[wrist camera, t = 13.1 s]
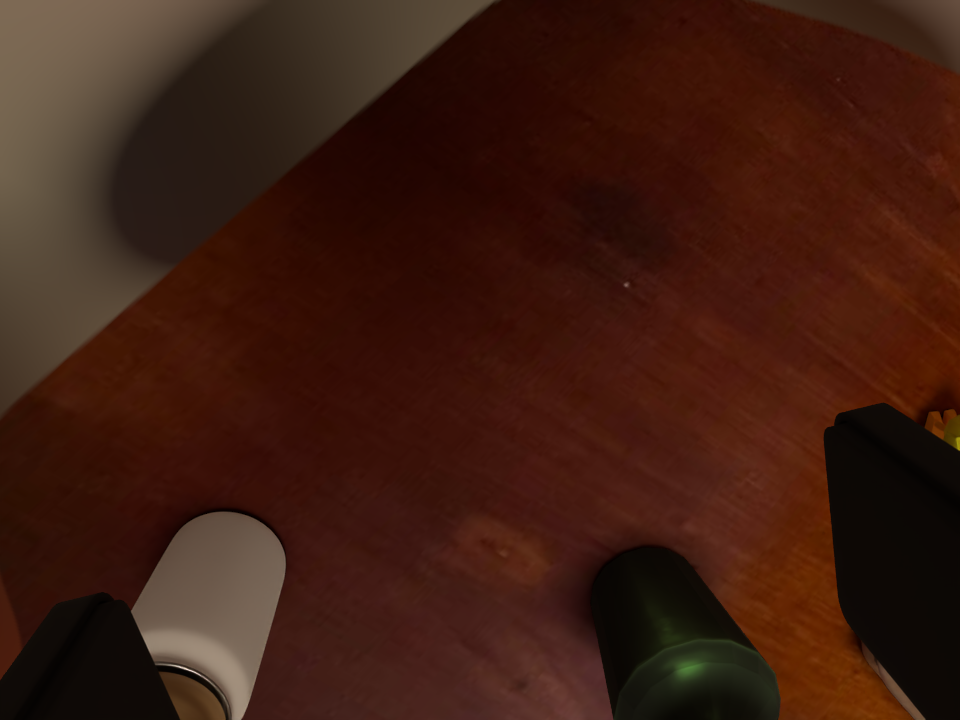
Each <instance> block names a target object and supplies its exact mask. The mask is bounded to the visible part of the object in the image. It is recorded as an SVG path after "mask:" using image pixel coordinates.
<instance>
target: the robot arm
mask: <svg viewBox="0 0 960 720" xmlns="http://www.w3.org/2000/svg"><path fill="white" fill-rule="evenodd" d="M824 448H825V459H826V470H827V481H828V492H829V503H830V513H831V524H832V535H833V546H834V557H835V568H836V579H837V590H838V598H839V603H840V607H841V610H842V612H843V615H844V617H845V619H846V621H847V623H848V624H849V626H850V627H851V628H852V630H853V631H854V632H855V633H856V635H857V636H858V637H859V638H860V640H861V641H862V642H863V643H864V644H865V646H866V647H867V648H868V649H869V651H870V652H871V653H872V654H873V655H874V657H875V658H876V659H877V660H878V662H879V663H880V664H881V665H882V667H883V668H884V669H885V670H886V671H887V673H888V674H889V675H890V676H891V678H892V679H893V680H894V681H895V683H896V684H897V685H898V686H899V687H900V689H901V690H902V691H903V692H904V694H905V695H906V696H907V697H908V698H909V700H910V701H911V702H912V703H913V705H914V706H915V707H916V708H917V710H918V711H919V712H920V713H921V714H922V716H923V717H924V718H925V719H926V720H960V451H959V450H958V449H956V448H954V447H953V446H951V445H950V444H948V443H947V442H945V441H944V440H942V439H941V438H939V437H938V436H936V435H935V434H933V433H931V432H930V431H928V430H927V429H925V428H924V427H922V426H921V425H919V424H918V423H916V422H915V421H913V420H912V419H910V418H908V417H907V416H905V415H904V414H902V413H901V412H899V411H898V410H896V409H895V408H893V407H892V406H890V405H888V404H886V403H879V404H875V405H871V406H867V407H863V408H859V409H854V410H850V411H846V412H842V413H839V414H838V415H837V416H836V419H835V422H834V426H832V427H827V428H826V430H825V432H824ZM0 720H180V718H179V715H178V713H177V711H176V709H175V707H174V705H173V702H172V700H171V698H170V696H169V694H168V691H167V689H166V687H165V685H164V683H163V680H162V678H161V676H160V674H159V672H158V670H157V667H156V665H155V663H154V661H153V659H152V656H151V654H150V652H149V650H148V648H147V646H146V643H145V641H144V639H143V637H142V635H141V632H140V630H139V628H138V626H137V624H136V621H135V619H134V617H133V615H132V613H131V611H130V609H129V607H128V605H127V604H126V603H125V602H124V601H122V600H115V601H114V599H113V598H112V597H111V596H110V595H109V594H107V593H103V592H101V593H97V594H93V595H89V596H85V597H81V598H77V599H73V600H69V601H64V602H61V603H58V604H56V605H55V606H54V607H53V608H52V609H51V611H50V612H49V613H48V615H47V616H46V618H45V619H44V620H43V622H42V623H41V625H40V626H39V627H38V629H37V630H36V631H35V633H34V634H33V636H32V637H31V638H30V640H29V641H28V643H27V644H26V645H25V647H24V648H23V650H22V651H21V652H20V654H19V655H18V656H17V658H16V659H15V661H14V662H13V663H12V665H11V666H10V668H9V669H8V670H7V672H6V673H5V674H4V676H3V677H2V679H1V680H0Z"/></svg>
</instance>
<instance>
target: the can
mask: <svg viewBox="0 0 960 720" xmlns="http://www.w3.org/2000/svg"><path fill="white" fill-rule="evenodd" d="M285 568H286V560H285V553H284V550H283V547H282V545H281V543H280V541H279V540H278V538H277V537H276V535H275V534H274V533H273V532H272V531H271V530H270V529H269V528H268V527H267V526H265V525H264V524H263V523H261V522H260V521H258V520H256V519H254V518H252V517H249V516H247V515H243V514H240V513H234V512H214V513H208V514H205V515H202V516H199V517H197V518H195V519H193V520H191V521H189V522H188V523H187V524H185V525H184V526H183V527H182V528H181V529H180V530H179V531H178V532H177V534H176V535H175V536H174V538H173V539H172V541H171V543H170V544H169V546H168V548H167V549H166V551H165V553H164V554H163V556H162V558H161V560H160V561H159V563H158V565H157V567H156V568H155V570H154V572H153V574H152V575H151V577H150V579H149V581H148V582H147V584H146V586H145V588H144V589H143V591H142V593H141V595H140V596H139V598H138V600H137V602H136V603H135V605H134V607H133V609H132V611H131V613H132V615H133V617H134V619H135V621H136V624H137V626H138V628H139V630H140V632H141V635H142V637H143V639H144V641H145V643H146V646H147V648H148V650H149V652H150V654H151V656H152V659H153V661H154V663H155V665H156V667H157V670H158V672H169V673H175V674H179V675H183V676H186V677H188V678H191V679H193V680H195V681H197V682H199V683H200V684H202V685H203V686H205V687H206V688H207V689H208V690H209V691H210V692H212V693H213V695H214V696H215V697H216V698H217V700H218V701H219V703H220V704H221V706H222V709H223V711H224V714H225V718H226V720H241V719H242V717H243V715H244V713H245V711H246V708H247V706H248V703H249V700H250V697H251V693H252V690H253V687H254V683H255V680H256V676H257V673H258V670H259V666H260V663H261V659H262V656H263V652H264V649H265V645H266V642H267V638H268V635H269V631H270V628H271V624H272V621H273V617H274V614H275V610H276V606H277V603H278V599H279V596H280V592H281V588H282V585H283V581H284V576H285Z"/></svg>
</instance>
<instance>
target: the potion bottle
mask: <svg viewBox="0 0 960 720" xmlns="http://www.w3.org/2000/svg"><path fill="white" fill-rule="evenodd" d="M590 603H591V608H592V613H593V618H594V623H595V628H596V633H597V638H598V643H599V648H600V653H601V658H602V663H603V669H604V674H605V679H606V684H607V689H608V694H609V699H610V704H611V709H612V714H613V719H614V720H778V717H779V711H780V700H781V699H780V694H779V689H778V684H777V679H776V674H775V673H774V671H773V670H772V669H771V667H770V666H769V665H768V664H767V662H766V661H765V660H764V658H763V657H762V656H761V655H760V653H759V652H758V651H757V650H756V648H755V647H754V646H753V644H752V643H751V642H750V641H749V639H748V638H747V637H746V635H745V634H744V633H743V632H742V630H741V629H740V628H739V626H738V625H737V624H736V623H735V621H734V620H733V619H732V617H731V616H730V615H729V614H728V612H727V611H726V610H725V608H724V607H723V606H722V605H721V603H720V602H719V601H718V599H717V598H716V597H715V596H714V594H713V593H712V592H711V590H710V589H709V588H708V587H707V585H706V584H705V583H704V581H703V580H702V579H701V578H700V576H699V575H698V574H697V572H696V571H695V570H694V569H693V568H692V566H691V565H690V564H689V563H688V562H687V560H686V559H685V558H684V557H682V556H680V555H678V554H676V553H674V552H672V551H669V550H667V549H661V548H641V549H637V550H634V551H631V552H627V553H624V554H622V555H620V556H619V557H618V558H616V559H615V560H614V561H612V562H611V563H609V564H608V565H607V566H605V567H604V569H603V570H602V572H601V573H600V575H599V576H598V578H597V579H596V581H595V582H594V585H593V591H592V596H591V602H590Z"/></svg>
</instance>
